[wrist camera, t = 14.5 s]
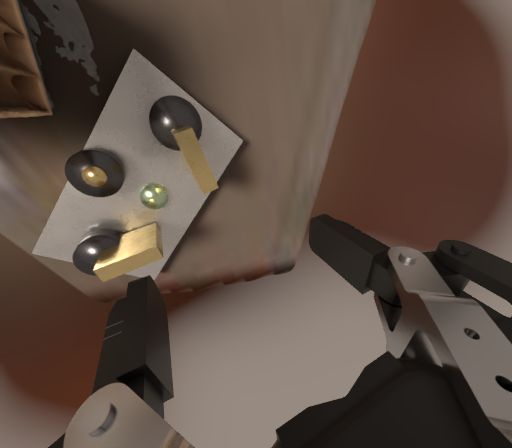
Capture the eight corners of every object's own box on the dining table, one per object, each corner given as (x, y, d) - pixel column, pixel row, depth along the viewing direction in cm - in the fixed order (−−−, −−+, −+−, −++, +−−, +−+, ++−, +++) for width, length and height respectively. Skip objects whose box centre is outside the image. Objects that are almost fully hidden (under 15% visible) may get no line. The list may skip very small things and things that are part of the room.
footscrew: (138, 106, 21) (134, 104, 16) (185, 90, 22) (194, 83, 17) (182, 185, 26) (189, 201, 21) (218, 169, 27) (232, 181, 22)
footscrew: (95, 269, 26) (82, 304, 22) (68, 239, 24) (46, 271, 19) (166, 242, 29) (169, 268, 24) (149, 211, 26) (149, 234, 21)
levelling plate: (35, 243, 24) (14, 266, 21) (130, 49, 20) (125, 35, 17) (154, 272, 33) (154, 292, 29) (238, 139, 29) (250, 143, 25)
